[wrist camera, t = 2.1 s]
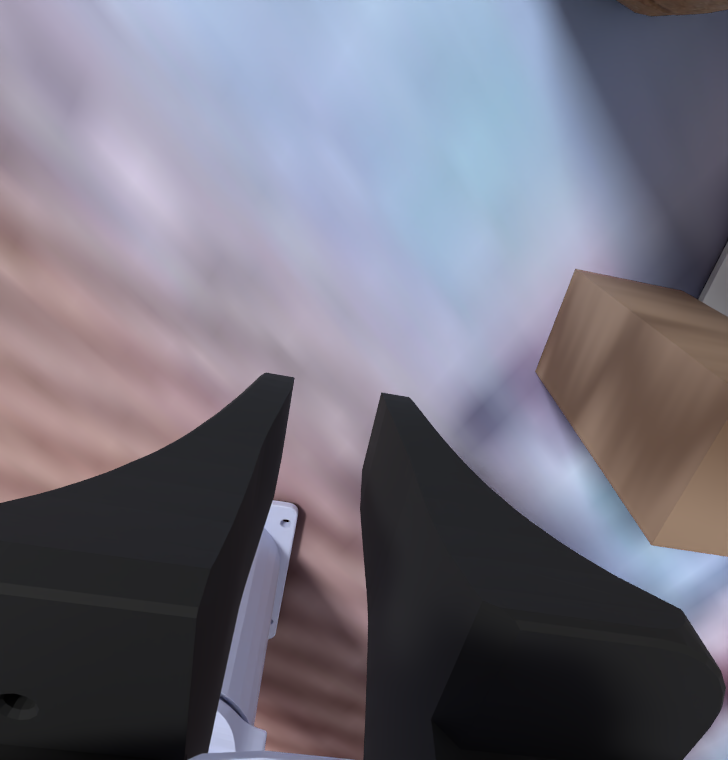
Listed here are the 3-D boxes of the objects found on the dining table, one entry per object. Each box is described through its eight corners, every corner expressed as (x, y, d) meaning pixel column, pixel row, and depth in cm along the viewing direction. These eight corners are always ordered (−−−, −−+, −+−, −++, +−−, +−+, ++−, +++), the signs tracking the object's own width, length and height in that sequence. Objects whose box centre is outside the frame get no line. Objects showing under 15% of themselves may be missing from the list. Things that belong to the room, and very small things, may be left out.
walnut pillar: (633, 389, 23) (807, 568, 14) (535, 371, 23) (651, 545, 14) (682, 290, 21) (921, 427, 12) (575, 268, 21) (742, 395, 12)
